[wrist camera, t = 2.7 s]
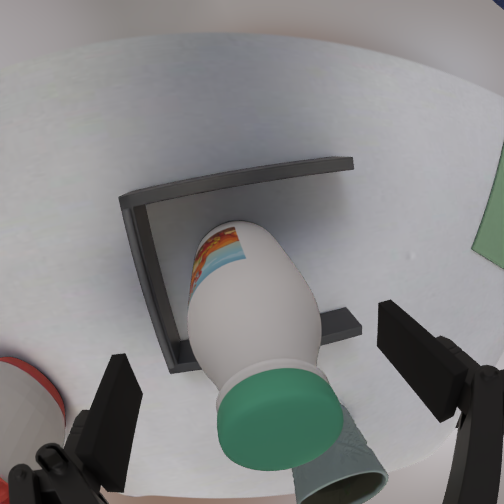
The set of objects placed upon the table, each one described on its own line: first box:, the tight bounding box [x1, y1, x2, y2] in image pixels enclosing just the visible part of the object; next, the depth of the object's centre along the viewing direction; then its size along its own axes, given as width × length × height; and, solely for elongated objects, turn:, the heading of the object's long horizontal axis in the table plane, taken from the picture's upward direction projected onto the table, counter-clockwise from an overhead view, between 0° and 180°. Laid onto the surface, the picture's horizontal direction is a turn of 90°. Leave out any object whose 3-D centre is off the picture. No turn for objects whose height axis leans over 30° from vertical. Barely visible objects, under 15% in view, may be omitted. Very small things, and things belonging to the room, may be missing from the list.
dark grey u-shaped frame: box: [119, 157, 362, 374], centre depth 27 cm, size 18×16×5 cm
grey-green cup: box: [292, 404, 388, 504], centre depth 31 cm, size 10×10×12 cm
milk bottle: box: [187, 221, 344, 471], centre depth 19 cm, size 8×8×20 cm
